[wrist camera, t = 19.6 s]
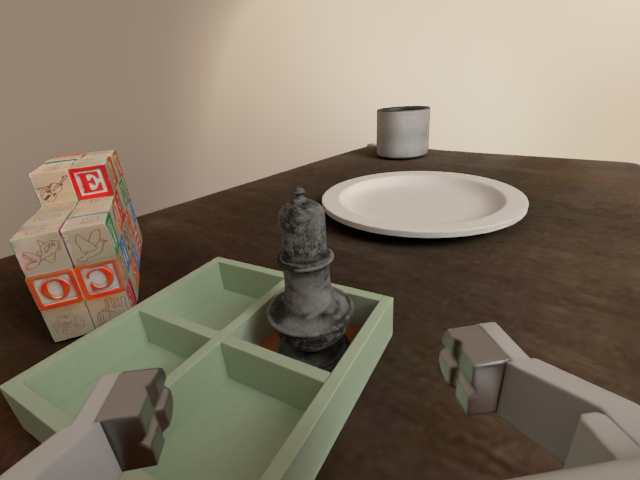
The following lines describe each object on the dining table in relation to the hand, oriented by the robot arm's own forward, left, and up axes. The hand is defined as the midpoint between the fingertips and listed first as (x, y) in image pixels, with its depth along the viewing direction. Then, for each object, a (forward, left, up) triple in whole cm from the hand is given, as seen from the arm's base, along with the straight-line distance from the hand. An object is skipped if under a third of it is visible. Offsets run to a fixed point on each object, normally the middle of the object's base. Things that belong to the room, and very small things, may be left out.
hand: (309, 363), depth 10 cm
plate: (+8, -43, -11) cm, 45 cm away
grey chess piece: (+6, -10, -10) cm, 15 cm away
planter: (+22, -81, -11) cm, 84 cm away
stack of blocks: (+33, -11, -11) cm, 36 cm away
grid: (+11, -6, -10) cm, 16 cm away
